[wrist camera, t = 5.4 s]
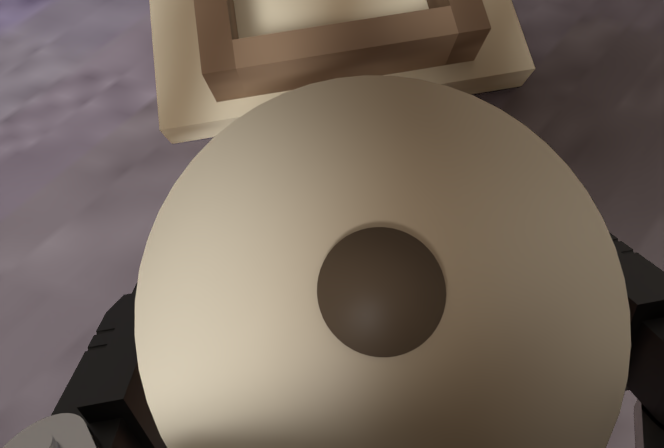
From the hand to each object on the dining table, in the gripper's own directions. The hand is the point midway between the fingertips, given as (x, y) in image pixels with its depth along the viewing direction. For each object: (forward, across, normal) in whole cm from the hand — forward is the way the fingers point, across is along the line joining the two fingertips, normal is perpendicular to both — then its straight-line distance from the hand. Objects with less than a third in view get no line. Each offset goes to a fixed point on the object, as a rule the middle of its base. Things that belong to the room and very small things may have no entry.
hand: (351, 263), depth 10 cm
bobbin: (+3, 0, +5) cm, 6 cm away
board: (+13, -1, -5) cm, 14 cm away
